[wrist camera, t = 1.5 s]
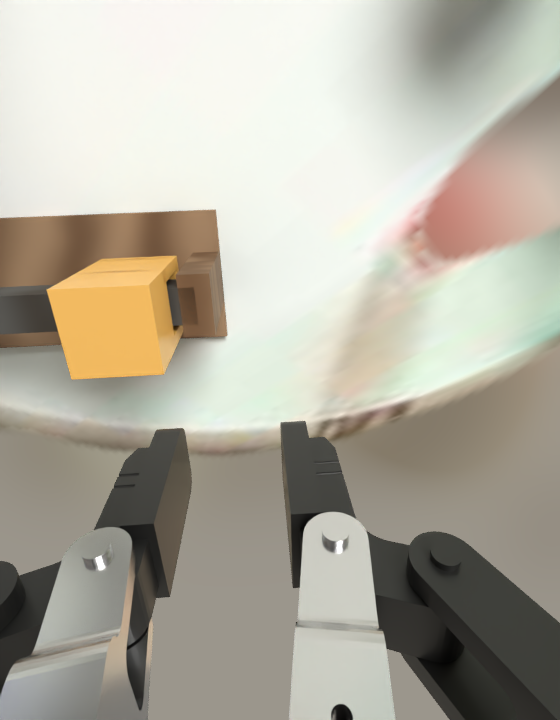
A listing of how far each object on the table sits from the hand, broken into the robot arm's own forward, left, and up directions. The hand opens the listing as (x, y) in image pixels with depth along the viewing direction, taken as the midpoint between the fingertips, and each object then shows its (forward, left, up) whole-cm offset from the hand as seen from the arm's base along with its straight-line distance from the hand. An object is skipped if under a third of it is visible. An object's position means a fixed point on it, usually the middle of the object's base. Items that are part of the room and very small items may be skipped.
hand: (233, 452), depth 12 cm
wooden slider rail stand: (-9, -9, -23) cm, 27 cm away
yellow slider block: (-5, -5, -19) cm, 20 cm away
